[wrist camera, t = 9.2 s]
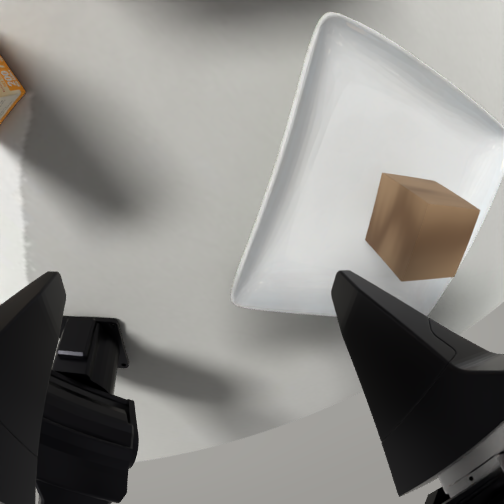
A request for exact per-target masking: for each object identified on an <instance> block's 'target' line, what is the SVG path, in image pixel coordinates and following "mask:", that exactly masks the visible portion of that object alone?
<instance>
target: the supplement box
mask: <svg viewBox="0 0 504 504" xmlns="http://www.w3.org/2000/svg"><path fill="white" fill-rule="evenodd" d="M25 93H26V91H25V90H24V88H23V87H22V85H21V84H20V82H19V81H18V80H17V78H16V77H15V75H14V74H13V72H12V71H11V70H10V68H9V67H8V65H7V64H6V63H5V61H4V60H3V58H2V57H1V55H0V124H1V123H2V121H3V120H4V119H5V117H6V116H7V115H8V113H9V112H10V111H11V110H12V108H13V107H14V106H15V105H16V103H17V102H18V101H19V100H20V99H21V98H22V96H23V95H24V94H25Z"/></svg>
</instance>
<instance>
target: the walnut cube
mask: <svg viewBox="0 0 504 504" xmlns="http://www.w3.org/2000/svg"><path fill="white" fill-rule="evenodd" d="M479 213H480V210H479V209H478V208H476V207H475V206H474V205H472V204H471V203H469V202H468V201H466V200H465V199H463V198H461V197H460V196H458V195H457V194H455V193H454V192H452V191H450V190H449V189H447V188H446V187H444V186H442V185H441V184H439V183H437V182H436V181H433V180H427V179H421V178H415V177H409V176H403V175H396V174H389V173H382V175H381V179H380V183H379V188H378V192H377V196H376V200H375V204H374V208H373V212H372V216H371V219H370V223H369V227H368V231H367V234H366V238H365V240H366V242H367V243H368V244H369V245H370V246H371V247H372V248H373V249H374V251H375V252H376V253H377V254H378V255H379V256H380V257H381V258H382V260H383V261H384V262H385V263H386V264H387V265H388V267H389V268H390V269H391V270H392V271H393V272H394V274H395V275H396V276H397V277H398V278H399V280H400V281H401V282H403V281H415V280H427V279H438V278H448V277H454V276H455V274H456V272H457V269H458V267H459V265H460V262H461V260H462V258H463V255H464V253H465V251H466V248H467V246H468V243H469V240H470V238H471V235H472V233H473V230H474V227H475V224H476V222H477V219H478V216H479Z"/></svg>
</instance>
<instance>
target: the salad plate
mask: <svg viewBox="0 0 504 504" xmlns="http://www.w3.org/2000/svg"><path fill="white" fill-rule="evenodd" d="M382 173H389V174H396V175H403V176H409V177H415V178H421V179H427V180H433V181H436V182H437V183H439V184H441V185H442V186H444V187H446V188H447V189H449V190H450V191H452V192H454V193H455V194H457V195H458V196H460V197H461V198H463V199H465V200H466V201H468V202H469V203H471V204H472V205H474V206H475V207H476V208H478V209H479V210H480V213H479V216H478V219H477V222H476V224H475V227H474V230H473V233H472V235H471V238H470V240H469V243H468V246H467V248H466V251H465V253H464V255H463V258H462V260H461V262H460V265H461V263H462V262H463V260H464V258H465V256H466V255H467V253H468V251H469V249H470V247H471V245H472V243H473V242H474V240H475V238H476V236H477V234H478V232H479V230H480V228H481V226H482V224H483V222H484V220H485V218H486V216H487V214H488V211H489V209H490V207H491V205H492V203H493V200H494V198H495V196H496V193H497V191H498V188H499V186H500V184H501V181H502V179H503V176H504V126H503V125H502V124H501V123H500V122H499V121H498V120H497V119H495V118H494V117H493V116H492V115H491V114H490V113H489V112H487V111H486V110H485V109H484V108H483V107H482V106H480V105H479V104H478V103H477V102H476V101H474V100H473V99H472V98H471V97H469V96H468V95H467V94H466V93H464V92H463V91H462V90H461V89H459V88H458V87H457V86H455V85H454V84H453V83H452V82H450V81H449V80H448V79H446V78H445V77H443V76H442V75H441V74H439V73H438V72H437V71H435V70H434V69H433V68H431V67H430V66H428V65H427V64H425V63H424V62H422V61H421V60H420V59H419V58H417V57H416V56H414V55H413V54H412V53H410V52H409V51H407V50H406V49H404V48H403V47H401V46H400V45H398V44H397V43H395V42H394V41H392V40H390V39H389V38H387V37H386V36H384V35H382V34H381V33H379V32H377V31H375V30H374V29H372V28H370V27H368V26H366V25H364V24H362V23H360V22H358V21H356V20H354V19H352V18H350V17H347V16H345V15H342V14H339V13H335V12H327V13H325V14H324V15H323V16H322V17H321V18H320V19H319V21H318V23H317V25H316V27H315V30H314V32H313V35H312V38H311V41H310V43H309V46H308V50H307V53H306V56H305V59H304V63H303V67H302V71H301V74H300V78H299V82H298V85H297V89H296V93H295V97H294V101H293V104H292V108H291V111H290V115H289V118H288V122H287V125H286V129H285V132H284V135H283V138H282V142H281V145H280V149H279V152H278V155H277V159H276V162H275V165H274V168H273V171H272V174H271V177H270V180H269V183H268V186H267V189H266V192H265V195H264V198H263V201H262V204H261V207H260V210H259V213H258V215H257V218H256V221H255V223H254V226H253V229H252V231H251V235H250V237H249V239H248V242H247V245H246V247H245V250H244V253H243V256H242V258H241V261H240V263H239V266H238V269H237V272H236V275H235V278H234V281H233V284H232V289H231V294H230V296H231V301H232V303H233V304H235V305H236V306H238V307H242V308H247V309H254V310H263V311H272V312H284V313H293V314H306V315H318V316H332V317H337V315H336V312H335V308H334V305H333V301H332V297H331V289H332V286H333V283H334V279H335V276H336V273H337V272H338V271H339V270H350V271H352V272H354V273H355V274H357V275H359V276H361V277H362V278H364V279H366V280H367V281H369V282H371V283H372V284H374V285H376V286H377V287H379V288H381V289H383V290H384V291H386V292H388V293H389V294H391V295H393V296H394V297H396V298H398V299H399V300H401V301H403V302H404V303H406V304H407V305H409V306H411V307H412V308H414V309H416V310H417V311H419V312H421V313H422V314H424V315H425V316H428V314H429V313H430V312H431V311H432V309H433V308H434V306H435V305H436V303H437V302H438V300H439V299H440V298H441V296H442V294H443V293H444V291H445V290H446V288H447V287H448V285H449V283H450V282H451V280H452V279H453V277H448V278H438V279H427V280H415V281H403V282H401V281H400V280H399V278H398V277H397V276H396V275H395V274H394V272H393V271H392V270H391V269H390V268H389V267H388V265H387V264H386V263H385V262H384V261H383V260H382V258H381V257H380V256H379V255H378V254H377V253H376V252H375V251H374V249H373V248H372V247H371V246H370V245H369V244H368V243H367V242H366V240H365V238H366V234H367V231H368V227H369V223H370V219H371V216H372V212H373V208H374V204H375V200H376V196H377V192H378V188H379V183H380V179H381V175H382ZM460 265H459V267H460ZM459 267H458V269H459ZM458 269H457V270H458Z"/></svg>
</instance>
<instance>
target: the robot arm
mask: <svg viewBox="0 0 504 504" xmlns="http://www.w3.org/2000/svg"><path fill="white" fill-rule="evenodd" d="M331 297H332V301H333V305H334V308H335V312H336V315H337V319H338V323H339V326H340V330H341V333H342V336H343V339H344V341H345V344H346V346H347V349H348V352H349V354H350V357H351V359H352V362H353V365H354V367H355V370H356V372H357V375H358V378H359V380H360V383H361V386H362V389H363V391H364V394H365V397H366V399H367V402H368V405H369V408H370V411H371V413H372V416H373V419H374V422H375V425H376V428H377V430H378V434H379V436H380V439H381V441H382V446H383V448H384V452H385V455H386V458H387V461H388V464H389V467H390V470H391V473H392V477H393V480H394V483H395V486H396V489H397V493H398V495H399V497H400V496H402V495H405V494H407V493H409V492H411V491H413V490H415V489H418V488H420V487H422V486H424V485H426V484H428V483H430V482H431V481H433V480H435V479H437V478H439V480H440V483H441V485H442V487H441V488H439V489H437V490H436V491H434V492H432V493H431V494H429V495H428V497H427V499H426V502H425V504H504V354H496V353H492V352H489V351H487V350H485V349H483V348H481V347H479V346H477V345H476V344H474V343H472V342H470V341H468V340H467V339H465V338H463V337H461V336H459V335H457V334H456V333H454V332H452V331H450V330H449V329H447V328H445V327H444V326H442V325H440V324H439V323H437V322H435V321H434V320H432V319H430V318H428V317H427V316H425V315H424V314H422V313H421V312H419V311H417V310H416V309H414V308H412V307H411V306H409V305H407V304H406V303H404V302H403V301H401V300H399V299H398V298H396V297H394V296H393V295H391V294H389V293H388V292H386V291H384V290H383V289H381V288H379V287H377V286H376V285H374V284H372V283H371V282H369V281H367V280H366V279H364V278H362V277H361V276H359V275H357V274H355V273H354V272H352V271H350V270H339V271H338V272H337V273H336V276H335V279H334V283H333V286H332V289H331ZM65 301H66V293H65V289H64V286H63V282H62V279H61V275H60V273H59V272H46V273H45V274H43V275H42V276H40V277H39V278H37V279H36V280H35V281H33V282H32V283H30V284H29V285H27V286H26V287H25V288H23V289H22V290H20V291H19V292H18V293H16V294H15V295H13V296H12V297H11V298H9V299H8V300H7V301H5V302H4V303H3V304H1V305H0V504H35V489H36V488H37V491H38V493H39V502H38V504H111V503H112V502H116V503H119V502H121V500H122V499H123V497H124V496H125V495H126V493H127V478H128V469H129V468H131V467H132V465H133V464H134V462H135V459H136V456H137V451H138V443H139V438H138V429H137V421H136V413H135V405H134V401H132V400H129V399H127V400H126V399H123V398H121V397H118V396H115V395H114V387H115V380H116V373H117V368H127V367H128V366H129V361H128V357H127V354H126V350H125V346H124V343H123V339H122V335H121V331H120V327H119V323H118V321H117V320H115V319H110V318H85V317H67V316H63V311H64V306H65ZM112 324H114V325H112ZM59 338H60V341H59V344H58V340H59ZM57 344H58V347H57ZM56 348H57V350H56ZM55 352H56V356H55ZM54 356H55V359H54ZM53 360H54V362H53Z"/></svg>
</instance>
